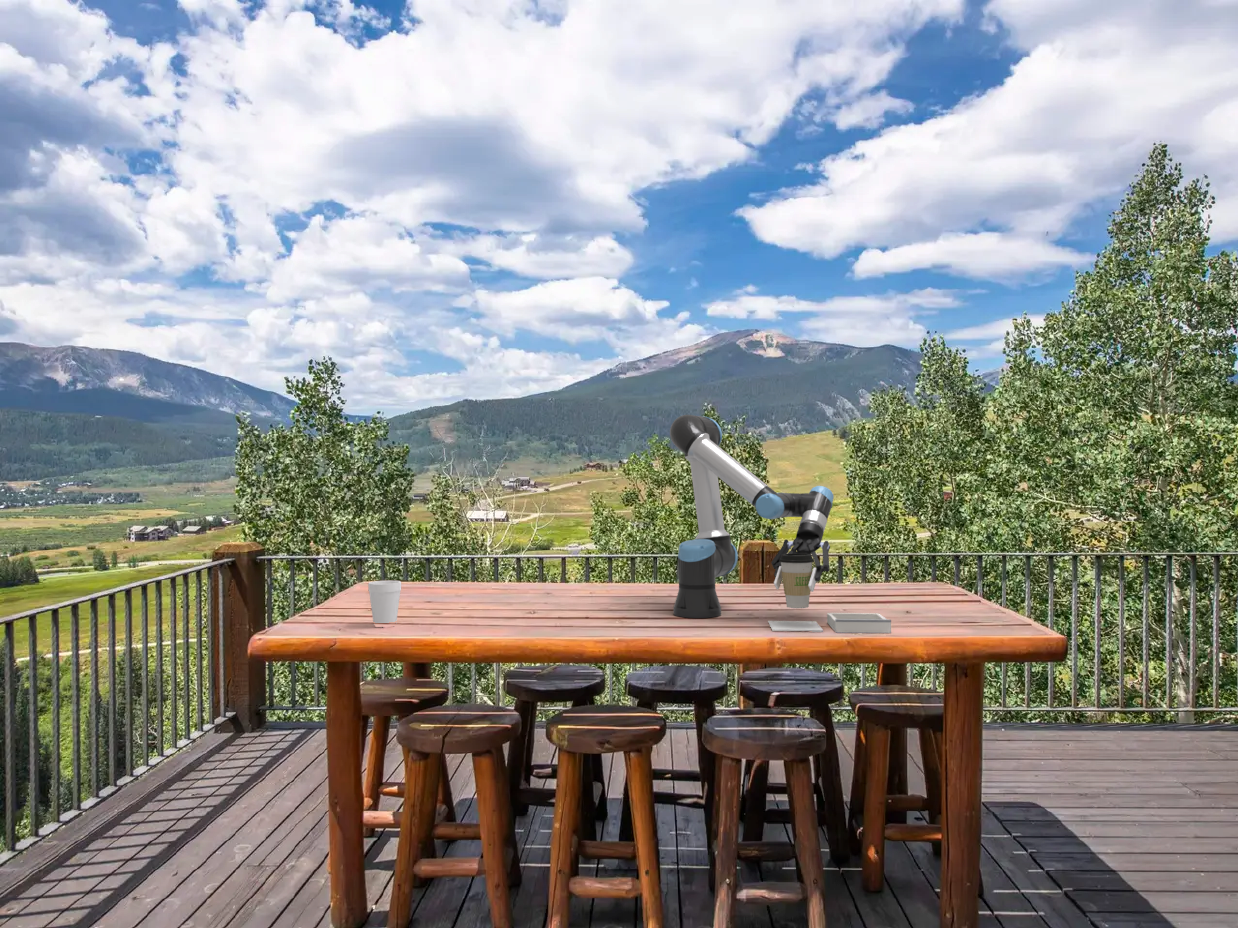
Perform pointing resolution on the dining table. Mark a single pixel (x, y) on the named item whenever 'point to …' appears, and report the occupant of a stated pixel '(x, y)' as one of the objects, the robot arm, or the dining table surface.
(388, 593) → the foam cup
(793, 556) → the coffee cup
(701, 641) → the dining table surface
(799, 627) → the rubber mat
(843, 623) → the cup holder
